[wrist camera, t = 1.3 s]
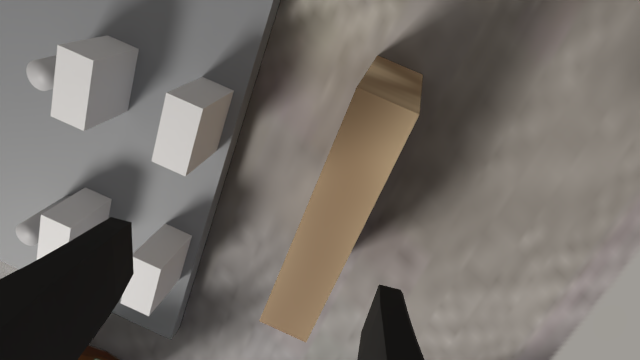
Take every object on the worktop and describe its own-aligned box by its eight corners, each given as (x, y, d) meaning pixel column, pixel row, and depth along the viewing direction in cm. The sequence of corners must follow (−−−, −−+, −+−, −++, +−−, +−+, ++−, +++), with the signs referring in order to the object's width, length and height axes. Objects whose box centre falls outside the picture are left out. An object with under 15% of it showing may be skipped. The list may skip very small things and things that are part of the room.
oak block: (422, 74, 19) (419, 114, 14) (334, 257, 23) (305, 342, 18) (377, 55, 19) (356, 87, 14) (298, 241, 24) (259, 321, 18)
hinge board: (284, -13, 19) (249, -10, 15) (179, 328, 28) (141, 380, 24) (-15, -140, 19) (-117, -166, 16) (-22, 234, 28) (-89, 272, 25)
